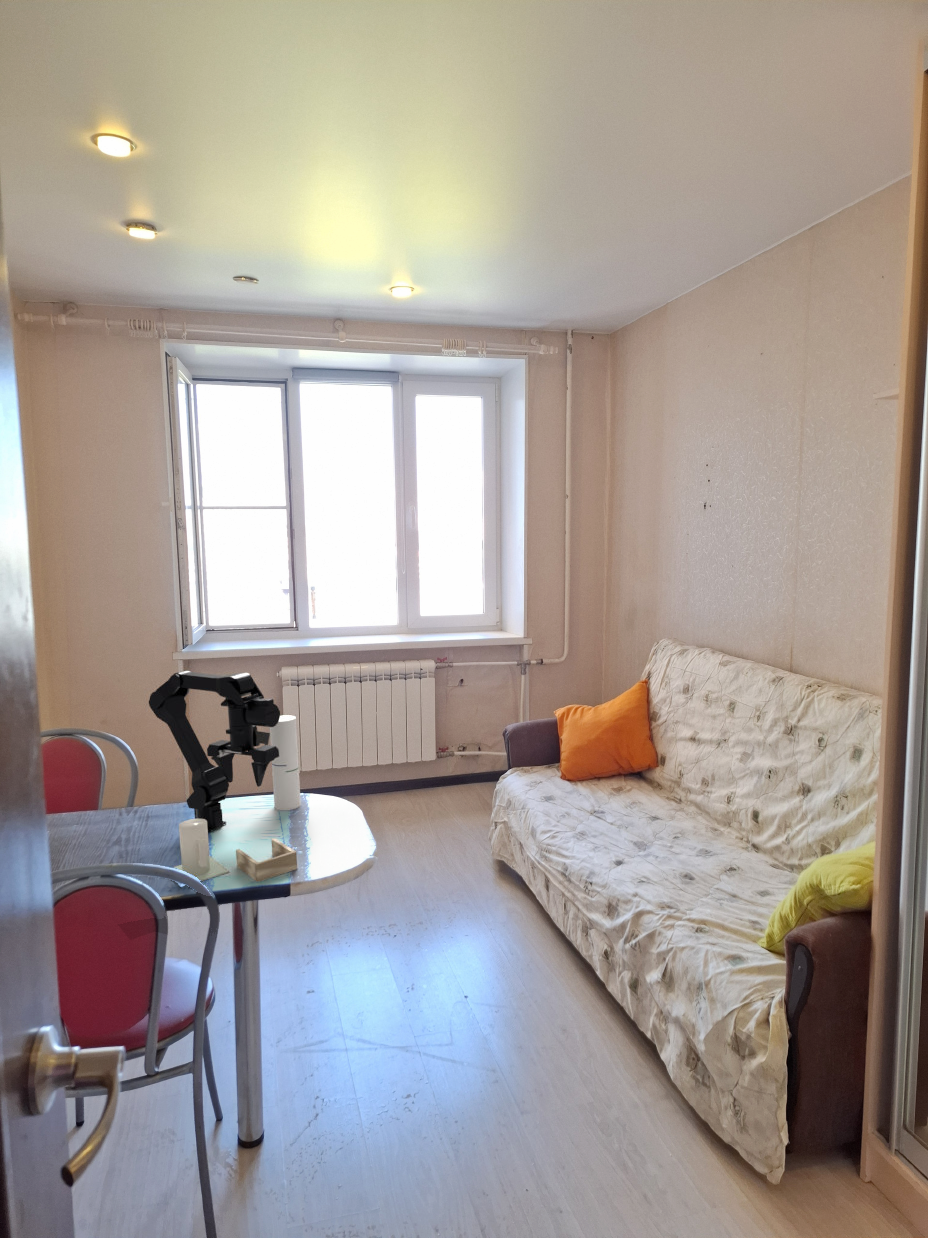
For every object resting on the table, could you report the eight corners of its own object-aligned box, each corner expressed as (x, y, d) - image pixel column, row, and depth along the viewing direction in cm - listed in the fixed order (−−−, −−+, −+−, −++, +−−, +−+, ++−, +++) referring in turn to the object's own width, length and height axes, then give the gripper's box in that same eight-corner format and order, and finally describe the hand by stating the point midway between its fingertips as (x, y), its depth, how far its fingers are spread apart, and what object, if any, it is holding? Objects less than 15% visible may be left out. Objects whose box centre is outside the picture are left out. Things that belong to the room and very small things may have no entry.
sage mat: (163, 871, 173) (163, 870, 173) (210, 857, 180) (210, 856, 180) (180, 887, 165) (180, 886, 165) (229, 872, 172) (229, 871, 172)
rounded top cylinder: (178, 870, 173) (174, 823, 172) (204, 862, 177) (201, 816, 176) (191, 881, 167) (187, 833, 166) (218, 873, 171) (214, 826, 170)
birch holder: (236, 866, 175) (235, 850, 174) (275, 854, 181) (274, 838, 180) (257, 882, 167) (256, 864, 166) (297, 868, 173) (296, 852, 172)
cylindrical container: (276, 802, 217) (271, 716, 214) (302, 800, 217) (297, 714, 214) (272, 811, 210) (267, 722, 207) (298, 809, 210) (293, 721, 207)
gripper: (291, 719, 194) (294, 778, 196) (234, 713, 202) (237, 771, 204) (262, 729, 184) (266, 792, 186) (203, 723, 192) (207, 783, 194)
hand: (244, 784), depth 193 cm, fingers open, 9 cm apart
